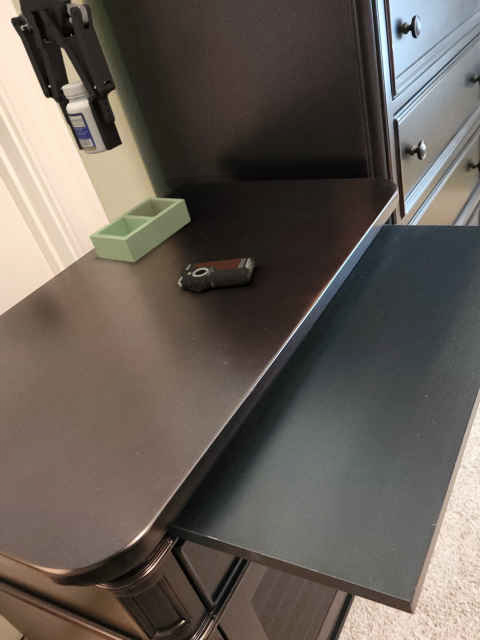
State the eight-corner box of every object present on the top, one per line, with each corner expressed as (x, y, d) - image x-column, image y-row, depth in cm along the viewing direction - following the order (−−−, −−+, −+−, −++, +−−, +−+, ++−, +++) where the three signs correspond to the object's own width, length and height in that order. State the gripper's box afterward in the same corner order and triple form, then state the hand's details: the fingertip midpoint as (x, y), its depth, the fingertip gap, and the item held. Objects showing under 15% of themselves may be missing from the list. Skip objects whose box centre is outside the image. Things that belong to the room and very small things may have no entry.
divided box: (98, 258, 91) (88, 236, 89) (156, 218, 101) (149, 197, 98) (134, 262, 87) (125, 239, 85) (190, 220, 97) (184, 199, 94)
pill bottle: (115, 140, 83) (91, 76, 77) (120, 147, 79) (96, 80, 73) (82, 150, 82) (55, 85, 76) (86, 157, 78) (58, 90, 72)
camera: (244, 274, 73) (171, 282, 75) (249, 291, 75) (178, 298, 77) (251, 249, 77) (182, 257, 79) (256, 266, 79) (189, 273, 81)
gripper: (96, -67, 63) (160, 138, 78) (4, -43, 71) (78, 138, 87) (48, -60, 59) (126, 156, 74) (-44, -34, 67) (43, 155, 82)
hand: (100, 146), depth 80 cm, fingers closed on pill bottle, 5 cm apart
